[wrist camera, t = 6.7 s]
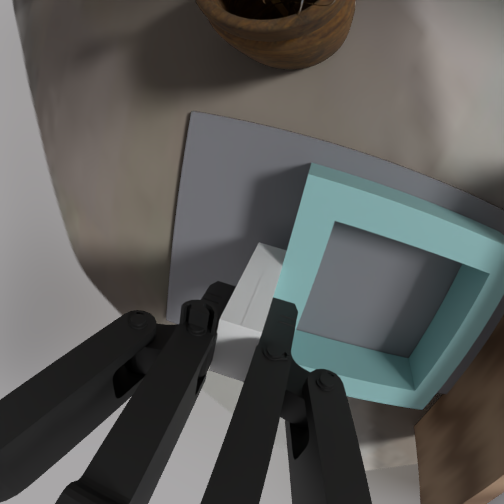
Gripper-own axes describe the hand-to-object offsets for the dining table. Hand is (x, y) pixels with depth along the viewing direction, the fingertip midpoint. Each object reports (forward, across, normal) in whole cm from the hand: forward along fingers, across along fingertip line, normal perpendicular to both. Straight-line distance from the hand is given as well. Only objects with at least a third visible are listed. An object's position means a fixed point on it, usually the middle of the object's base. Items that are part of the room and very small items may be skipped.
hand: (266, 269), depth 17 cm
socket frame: (+2, +6, 0) cm, 7 cm away
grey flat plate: (+2, +5, 0) cm, 5 cm away
